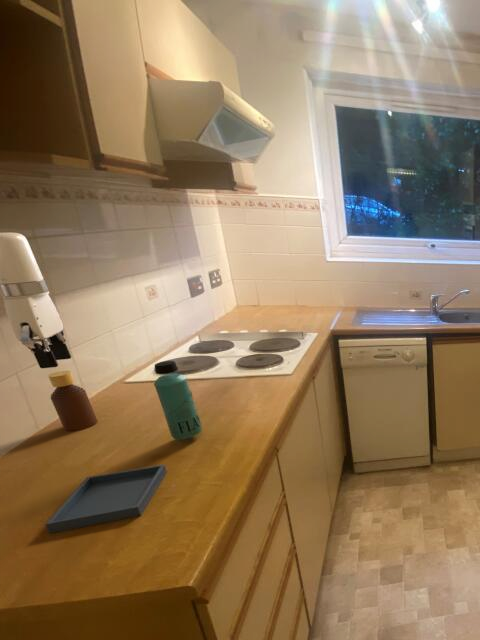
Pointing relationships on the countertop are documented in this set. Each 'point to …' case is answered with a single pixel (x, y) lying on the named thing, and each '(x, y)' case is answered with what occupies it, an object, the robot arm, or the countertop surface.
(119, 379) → the countertop surface
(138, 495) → the tray
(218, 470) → the countertop surface
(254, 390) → the countertop surface
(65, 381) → the cap
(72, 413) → the sauce bottle
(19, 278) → the robot arm
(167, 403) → the beverage bottle
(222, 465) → the countertop surface
